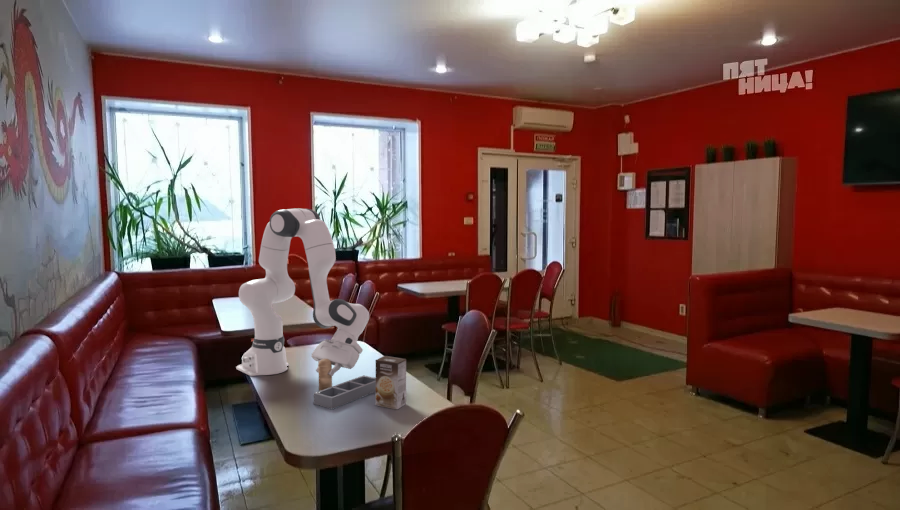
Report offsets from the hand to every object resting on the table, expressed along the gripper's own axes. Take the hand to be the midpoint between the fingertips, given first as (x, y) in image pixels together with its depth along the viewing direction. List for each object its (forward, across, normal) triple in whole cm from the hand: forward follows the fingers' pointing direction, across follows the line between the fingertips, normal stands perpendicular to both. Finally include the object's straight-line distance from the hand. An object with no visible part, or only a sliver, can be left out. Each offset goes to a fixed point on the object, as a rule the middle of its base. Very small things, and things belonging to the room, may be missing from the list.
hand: (323, 373), depth 199 cm
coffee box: (+3, +30, +6) cm, 31 cm away
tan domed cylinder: (+4, 0, +5) cm, 6 cm away
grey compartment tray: (+4, +12, +5) cm, 14 cm away
